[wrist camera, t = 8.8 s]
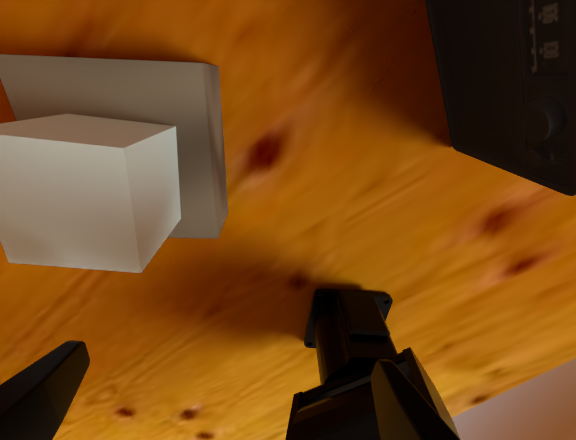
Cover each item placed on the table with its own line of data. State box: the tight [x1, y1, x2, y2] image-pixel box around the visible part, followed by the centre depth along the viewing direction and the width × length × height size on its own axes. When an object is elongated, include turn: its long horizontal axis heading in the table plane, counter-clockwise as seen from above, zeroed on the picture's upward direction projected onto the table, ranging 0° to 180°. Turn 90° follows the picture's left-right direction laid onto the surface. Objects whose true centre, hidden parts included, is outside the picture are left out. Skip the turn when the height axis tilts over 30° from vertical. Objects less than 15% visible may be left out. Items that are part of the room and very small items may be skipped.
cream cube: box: [0, 114, 181, 273], centre depth 12 cm, size 5×5×5 cm
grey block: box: [0, 54, 228, 238], centre depth 16 cm, size 9×9×4 cm
